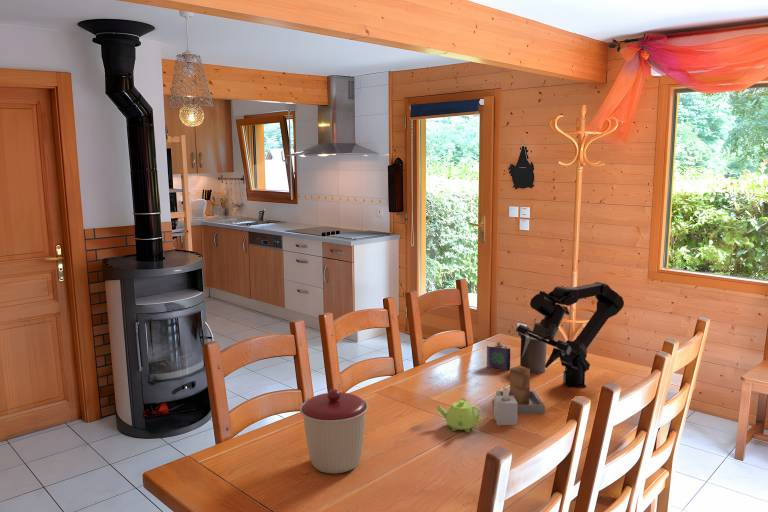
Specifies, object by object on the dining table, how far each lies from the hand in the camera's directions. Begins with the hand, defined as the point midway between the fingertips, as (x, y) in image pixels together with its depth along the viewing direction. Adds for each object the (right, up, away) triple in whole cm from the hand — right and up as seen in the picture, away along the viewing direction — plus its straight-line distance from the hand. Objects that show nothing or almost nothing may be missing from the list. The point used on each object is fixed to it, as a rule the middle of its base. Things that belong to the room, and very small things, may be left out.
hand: (533, 362), depth 209 cm
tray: (-6, -13, -6) cm, 16 cm away
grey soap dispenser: (-13, -15, -18) cm, 27 cm away
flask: (-6, -8, +30) cm, 32 cm away
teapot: (-28, -16, -22) cm, 39 cm away
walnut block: (-6, -13, -6) cm, 15 cm away
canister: (-64, -20, -43) cm, 80 cm away
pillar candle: (+7, -8, +28) cm, 30 cm away
